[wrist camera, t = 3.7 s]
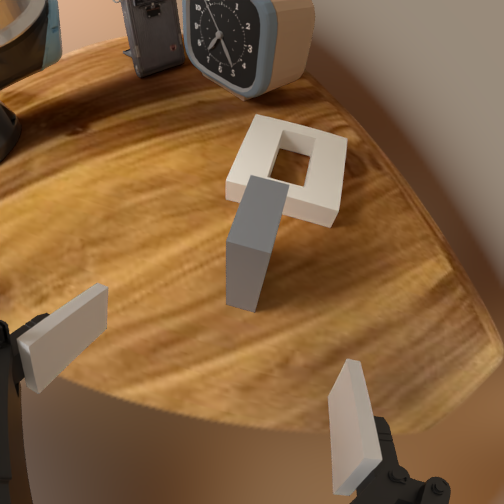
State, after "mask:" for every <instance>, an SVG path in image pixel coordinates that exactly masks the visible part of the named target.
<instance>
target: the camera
mask: <svg viewBox="0 0 504 504" xmlns="http://www.w3.org/2000/svg"><path fill="white" fill-rule="evenodd" d="M113 1H114V2H115V3H119V2H121V5H122V11H123V16H124V22H125V27H126V31H127V36H128V41H129V45H130V49H129V50H126V51H123V53H124V54H126V55H128V56H130V57H132V59H133V64H134V68H135V71H136V74H137V76H138V77H139V78H142V77H145V76H147V75H150V74H153V73H156V72H159V71H162V70H165V69H168V68H171V67H174V66H177V65H180V64H183V63H184V61H185V56H184V49H183V43H182V36H181V29H180V23H179V16H178V9H177V3H176V0H119V2H116V1H115V0H113Z"/></svg>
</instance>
